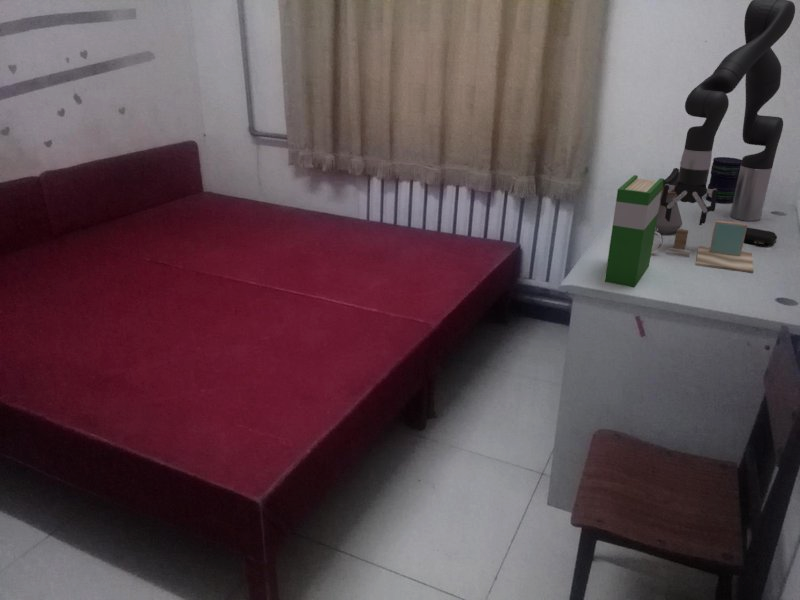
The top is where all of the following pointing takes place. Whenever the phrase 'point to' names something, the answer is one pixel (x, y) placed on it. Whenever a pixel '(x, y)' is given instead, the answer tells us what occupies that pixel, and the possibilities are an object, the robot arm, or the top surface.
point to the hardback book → (633, 230)
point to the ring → (660, 241)
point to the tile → (728, 238)
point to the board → (724, 260)
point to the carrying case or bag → (759, 237)
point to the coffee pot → (675, 217)
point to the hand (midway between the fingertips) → (684, 222)
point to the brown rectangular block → (679, 244)
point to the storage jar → (724, 178)
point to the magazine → (672, 178)
